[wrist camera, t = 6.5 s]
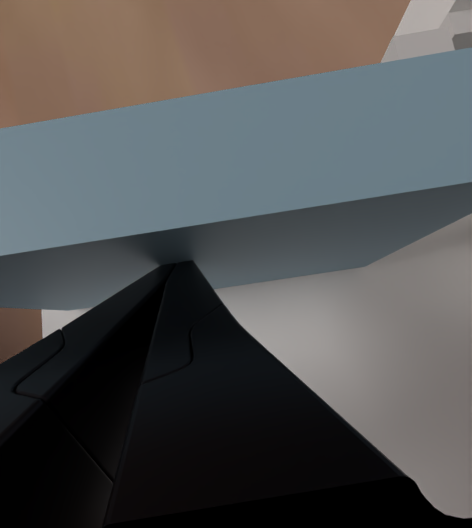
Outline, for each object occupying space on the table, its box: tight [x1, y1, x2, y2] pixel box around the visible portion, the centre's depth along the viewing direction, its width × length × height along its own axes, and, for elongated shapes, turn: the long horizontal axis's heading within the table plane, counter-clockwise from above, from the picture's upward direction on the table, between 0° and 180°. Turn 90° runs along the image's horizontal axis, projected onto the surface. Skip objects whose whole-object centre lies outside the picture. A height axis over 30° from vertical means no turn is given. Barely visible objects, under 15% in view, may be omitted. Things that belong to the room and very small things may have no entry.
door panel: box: [0, 27, 472, 311], centre depth 11 cm, size 4×14×10 cm, turn 98°
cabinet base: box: [42, 0, 472, 518], centre depth 11 cm, size 19×22×10 cm
